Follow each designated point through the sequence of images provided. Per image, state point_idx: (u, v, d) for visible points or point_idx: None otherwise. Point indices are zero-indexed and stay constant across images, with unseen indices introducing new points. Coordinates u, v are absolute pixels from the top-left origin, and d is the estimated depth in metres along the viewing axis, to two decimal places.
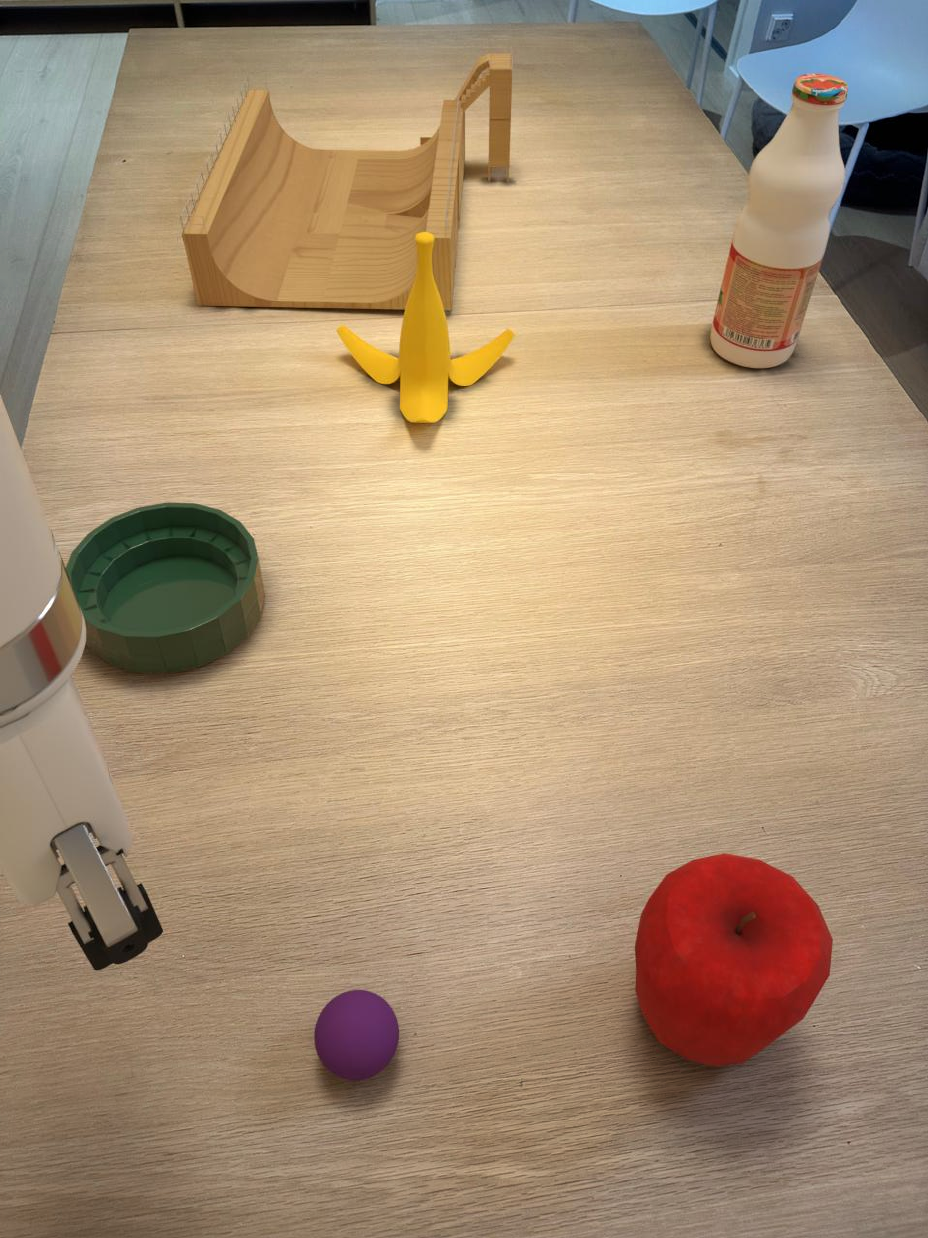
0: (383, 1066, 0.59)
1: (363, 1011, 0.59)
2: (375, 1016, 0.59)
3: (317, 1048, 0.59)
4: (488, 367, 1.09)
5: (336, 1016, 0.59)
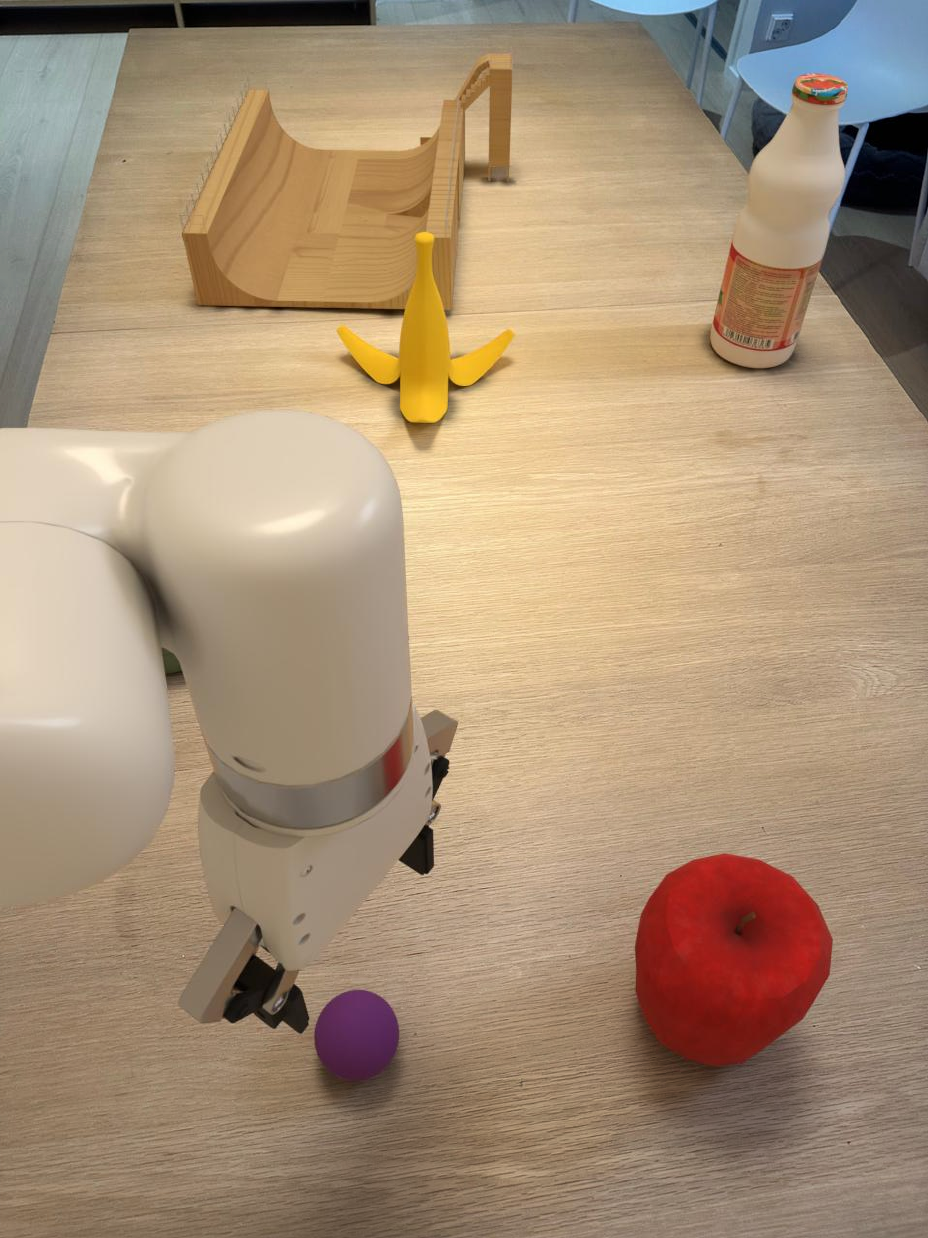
0: (383, 1066, 0.59)
1: (363, 1011, 0.59)
2: (375, 1016, 0.59)
3: (317, 1048, 0.59)
4: (488, 367, 1.09)
5: (336, 1016, 0.59)
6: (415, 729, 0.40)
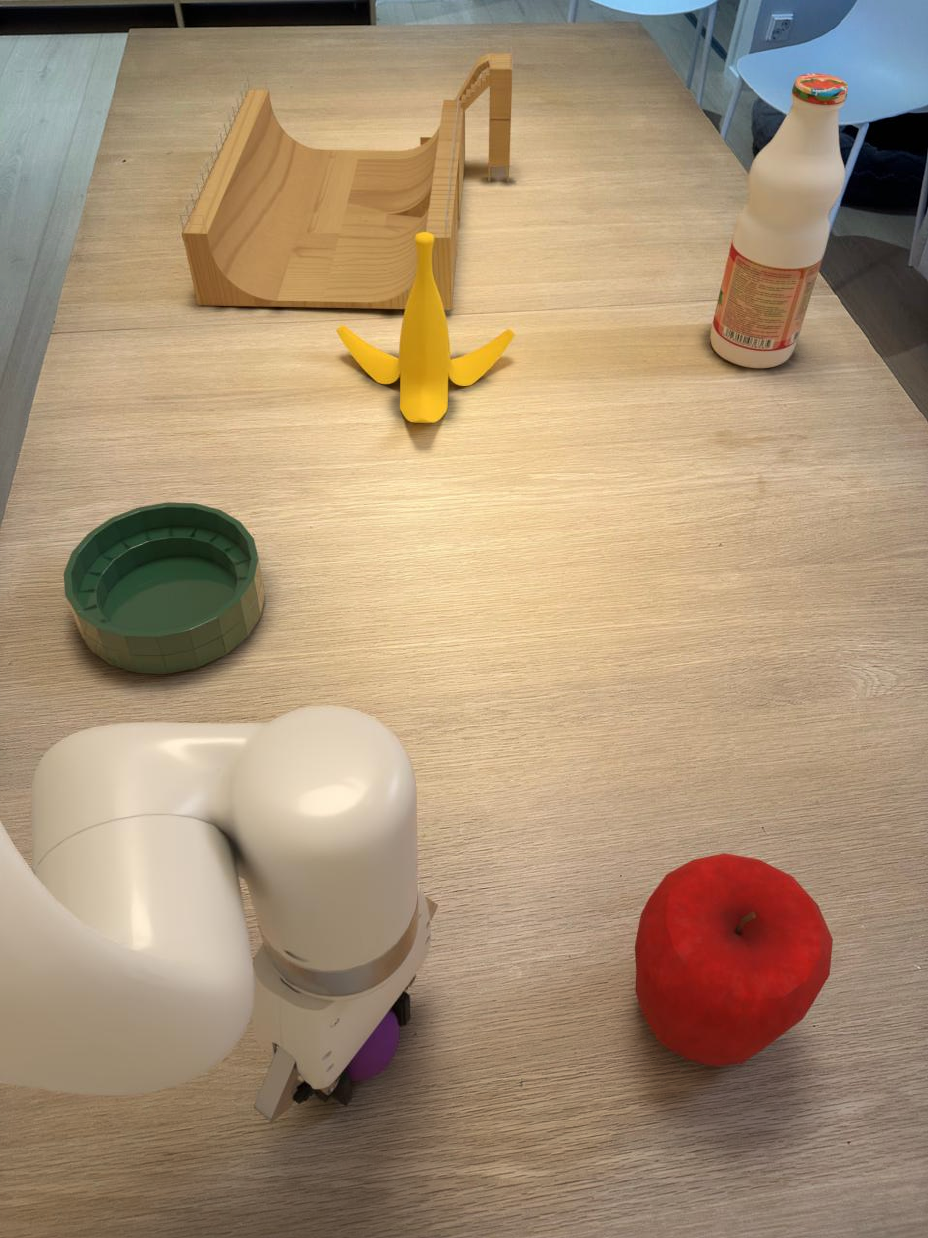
0: (383, 1066, 0.59)
1: None
2: None
3: None
4: (488, 367, 1.09)
5: None
6: (419, 903, 0.51)
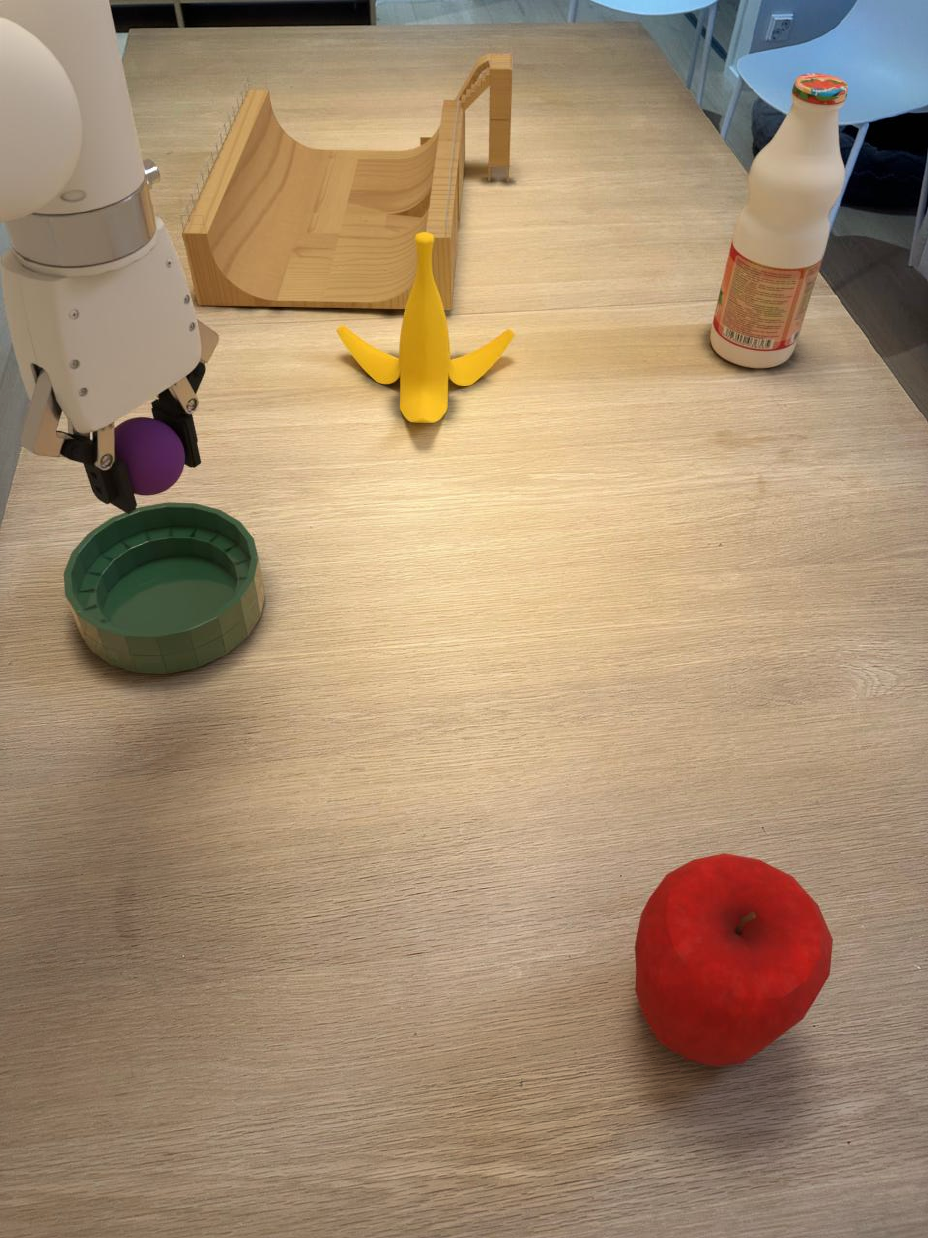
0: (164, 474, 0.64)
1: (145, 422, 0.64)
2: (156, 426, 0.64)
3: None
4: (488, 367, 1.09)
5: (121, 425, 0.64)
6: (165, 244, 0.57)
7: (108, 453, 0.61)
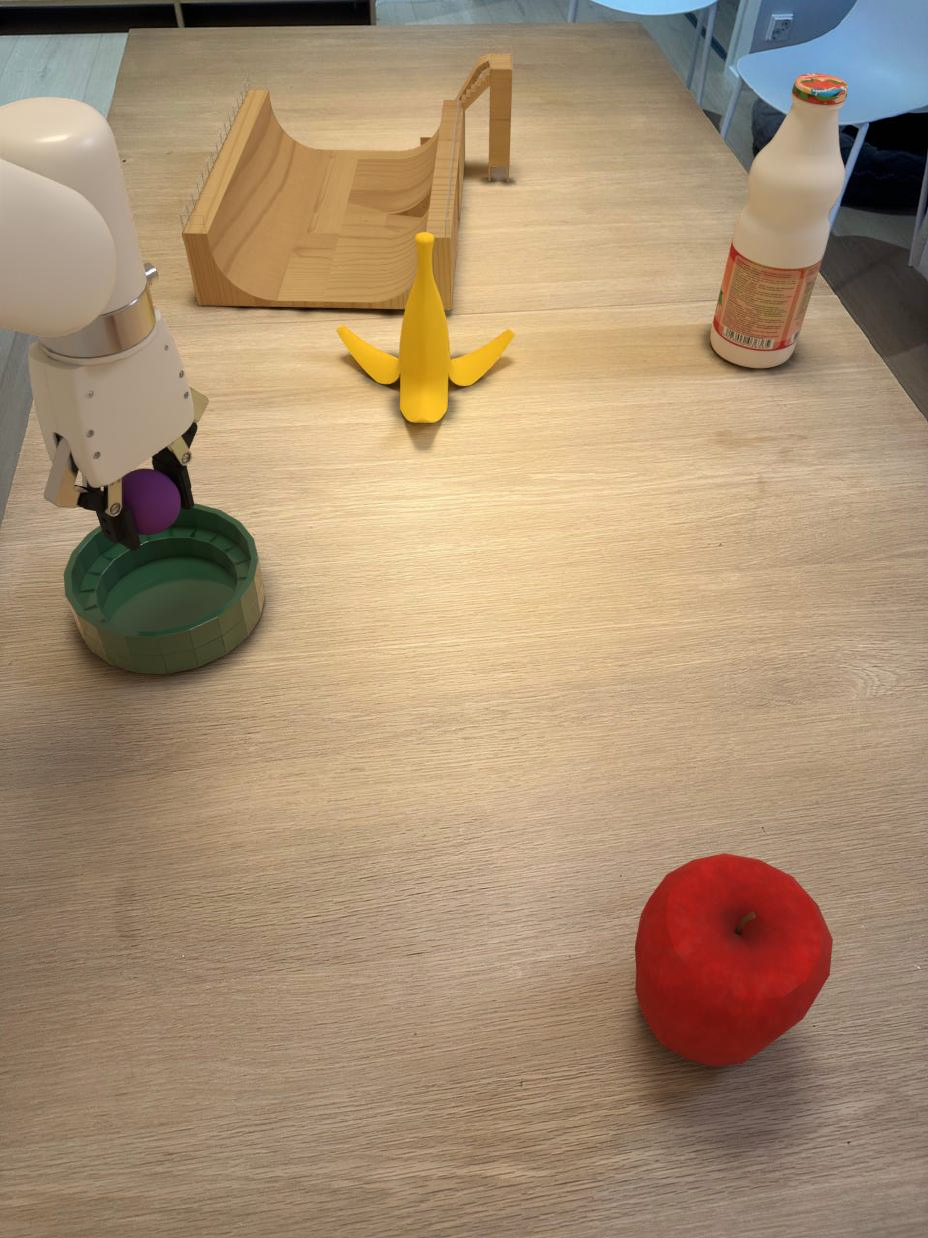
0: (163, 517, 0.76)
1: (147, 473, 0.76)
2: (156, 477, 0.76)
3: None
4: (488, 367, 1.09)
5: (126, 476, 0.76)
6: (163, 332, 0.68)
7: (116, 502, 0.73)
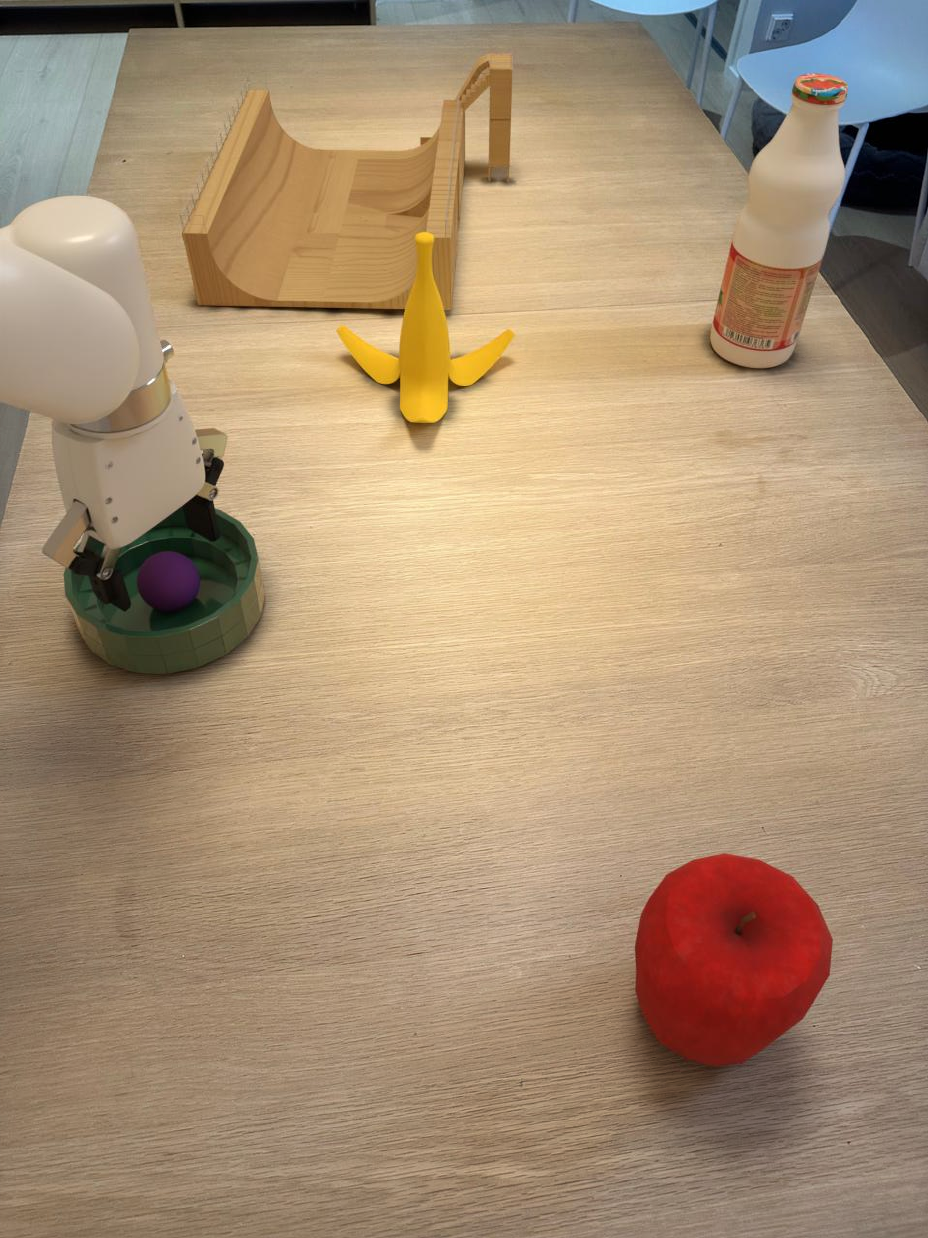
0: (184, 596, 0.83)
1: (172, 555, 0.83)
2: (181, 559, 0.83)
3: (137, 582, 0.83)
4: (488, 367, 1.09)
5: (152, 558, 0.82)
6: (178, 404, 0.72)
7: (108, 566, 0.75)
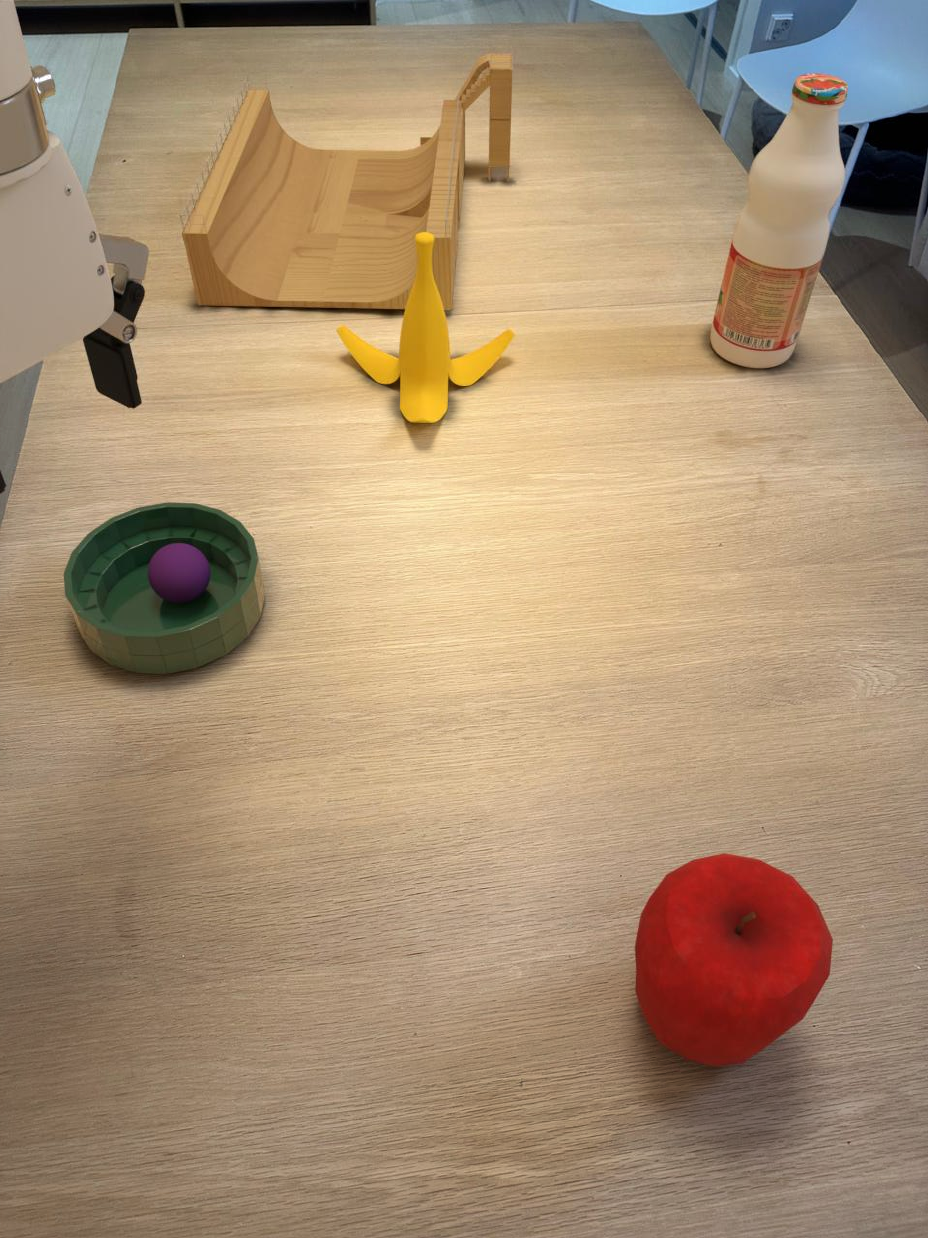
0: (196, 584, 0.83)
1: None
2: (200, 552, 0.84)
3: (152, 562, 0.83)
4: (488, 367, 1.09)
5: (173, 543, 0.84)
6: (63, 167, 0.48)
7: None
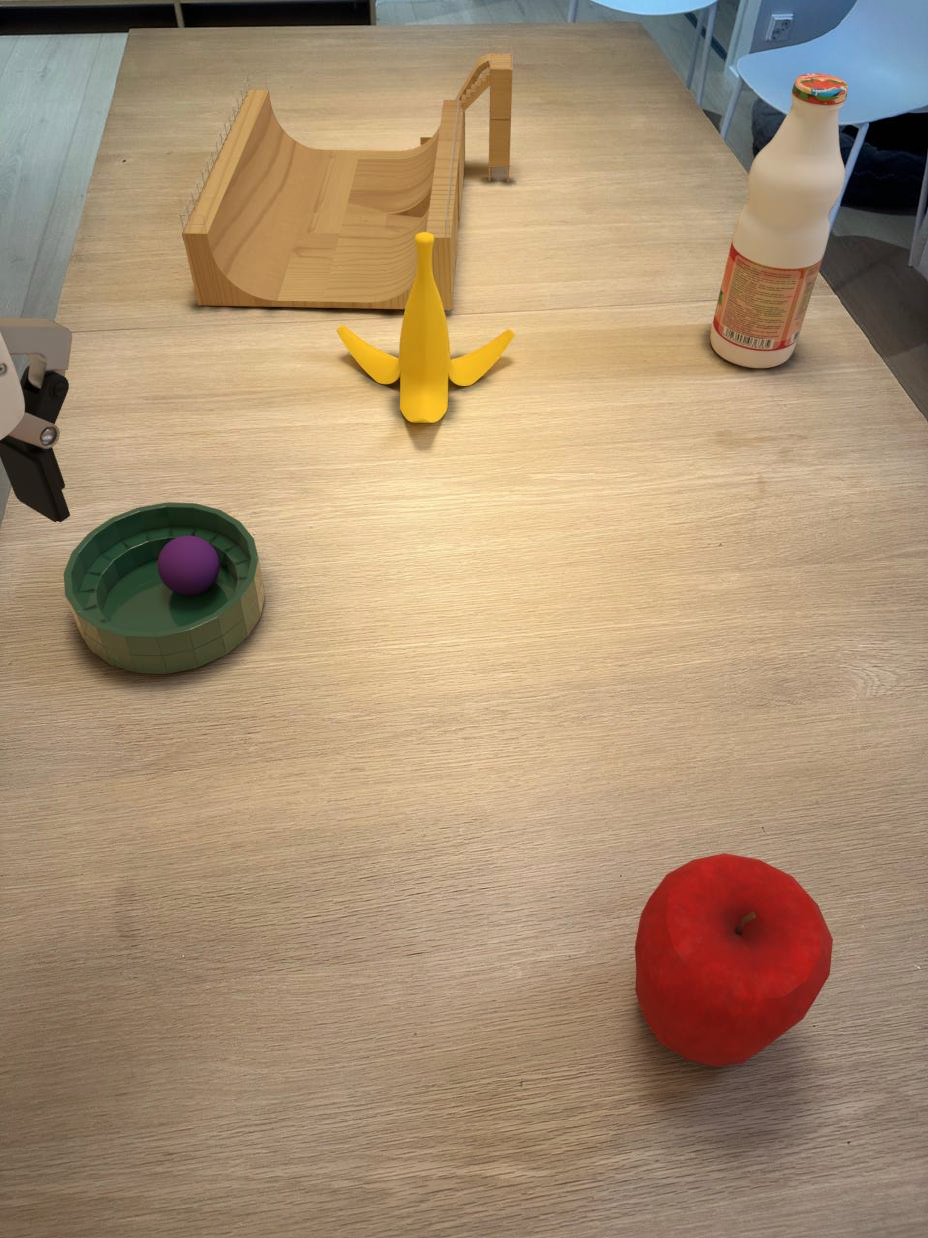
0: (207, 574, 0.84)
1: None
2: None
3: (168, 545, 0.84)
4: (488, 367, 1.09)
5: None
6: None
7: None
